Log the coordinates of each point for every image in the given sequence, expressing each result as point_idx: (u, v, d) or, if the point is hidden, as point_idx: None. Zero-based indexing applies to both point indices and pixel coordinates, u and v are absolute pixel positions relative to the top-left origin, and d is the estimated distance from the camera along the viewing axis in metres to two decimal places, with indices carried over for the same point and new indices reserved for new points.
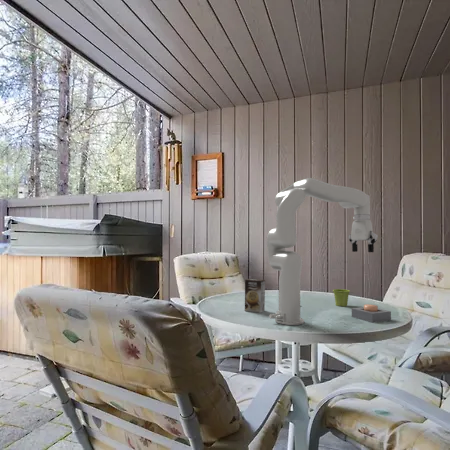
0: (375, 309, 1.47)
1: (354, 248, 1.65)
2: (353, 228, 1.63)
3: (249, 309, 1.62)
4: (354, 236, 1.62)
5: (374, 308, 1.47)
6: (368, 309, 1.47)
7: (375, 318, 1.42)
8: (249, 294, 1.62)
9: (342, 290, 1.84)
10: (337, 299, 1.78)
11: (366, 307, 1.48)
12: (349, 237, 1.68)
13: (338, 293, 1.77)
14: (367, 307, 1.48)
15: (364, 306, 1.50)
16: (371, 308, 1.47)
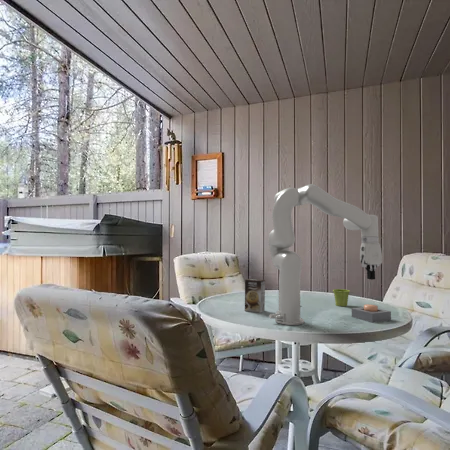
0: (375, 309, 1.47)
1: None
2: (370, 251, 1.47)
3: (249, 309, 1.62)
4: (371, 260, 1.47)
5: (374, 308, 1.47)
6: (368, 309, 1.47)
7: (375, 318, 1.42)
8: (249, 294, 1.62)
9: (342, 290, 1.84)
10: (337, 299, 1.78)
11: (366, 307, 1.48)
12: (365, 265, 1.48)
13: (338, 293, 1.77)
14: (367, 307, 1.48)
15: (364, 306, 1.50)
16: (371, 308, 1.47)
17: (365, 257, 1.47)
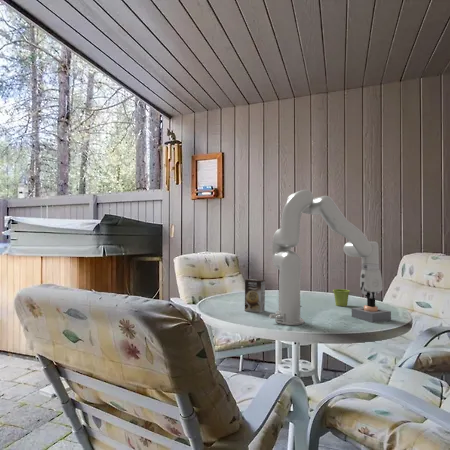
0: (375, 310, 1.47)
1: None
2: (370, 279, 1.47)
3: (249, 309, 1.62)
4: (371, 288, 1.46)
5: (374, 309, 1.47)
6: (368, 310, 1.47)
7: (375, 318, 1.42)
8: (249, 294, 1.62)
9: (342, 290, 1.84)
10: (337, 299, 1.78)
11: (366, 308, 1.48)
12: (365, 293, 1.48)
13: (338, 293, 1.77)
14: (367, 308, 1.48)
15: (364, 307, 1.49)
16: (371, 309, 1.47)
17: (365, 284, 1.47)
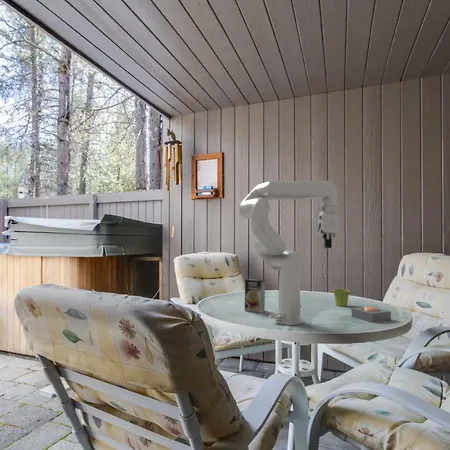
0: None
1: None
2: (326, 219, 1.50)
3: (249, 309, 1.62)
4: (328, 228, 1.50)
5: (374, 311, 1.46)
6: None
7: (375, 318, 1.42)
8: (249, 294, 1.62)
9: (342, 290, 1.84)
10: (337, 299, 1.78)
11: (366, 310, 1.48)
12: (322, 234, 1.51)
13: (338, 293, 1.77)
14: (367, 310, 1.48)
15: (364, 309, 1.49)
16: (371, 311, 1.47)
17: (322, 225, 1.51)
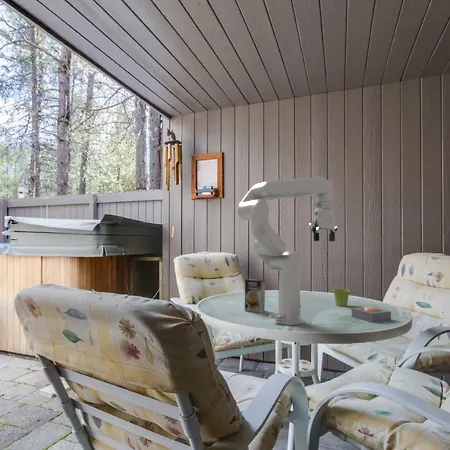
0: None
1: None
2: (322, 215, 1.51)
3: (249, 309, 1.62)
4: (324, 224, 1.51)
5: (374, 311, 1.46)
6: None
7: (375, 318, 1.42)
8: (249, 294, 1.62)
9: (342, 290, 1.84)
10: (337, 299, 1.78)
11: (366, 310, 1.48)
12: (312, 225, 1.51)
13: (338, 293, 1.77)
14: (367, 310, 1.48)
15: (364, 309, 1.49)
16: (371, 311, 1.47)
17: (318, 221, 1.51)
